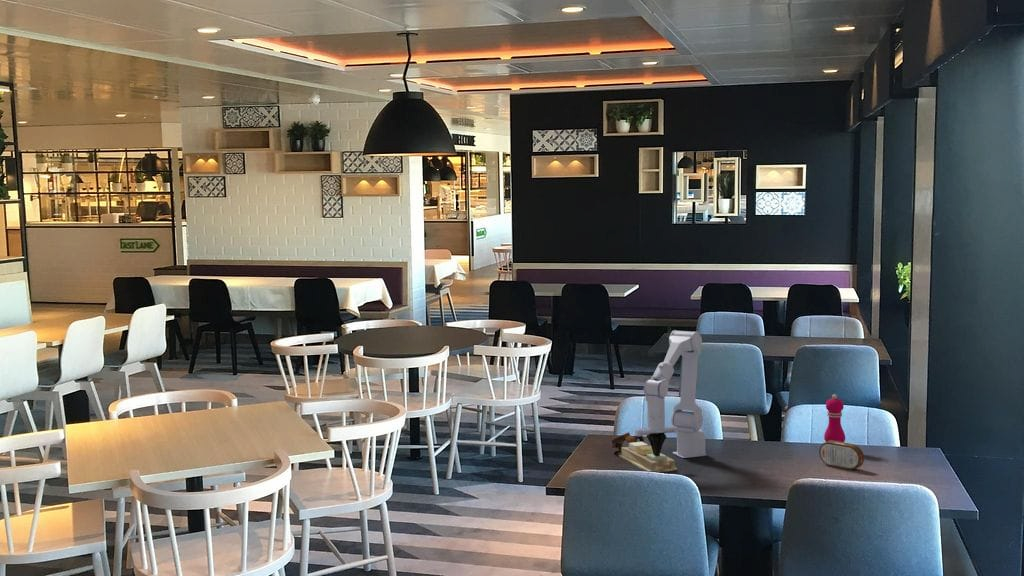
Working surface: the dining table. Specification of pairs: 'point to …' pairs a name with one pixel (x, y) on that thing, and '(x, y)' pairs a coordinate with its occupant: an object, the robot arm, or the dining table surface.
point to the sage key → (656, 457)
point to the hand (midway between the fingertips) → (656, 455)
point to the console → (647, 461)
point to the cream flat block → (645, 450)
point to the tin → (841, 455)
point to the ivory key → (636, 445)
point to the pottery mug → (630, 439)
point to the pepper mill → (834, 420)
